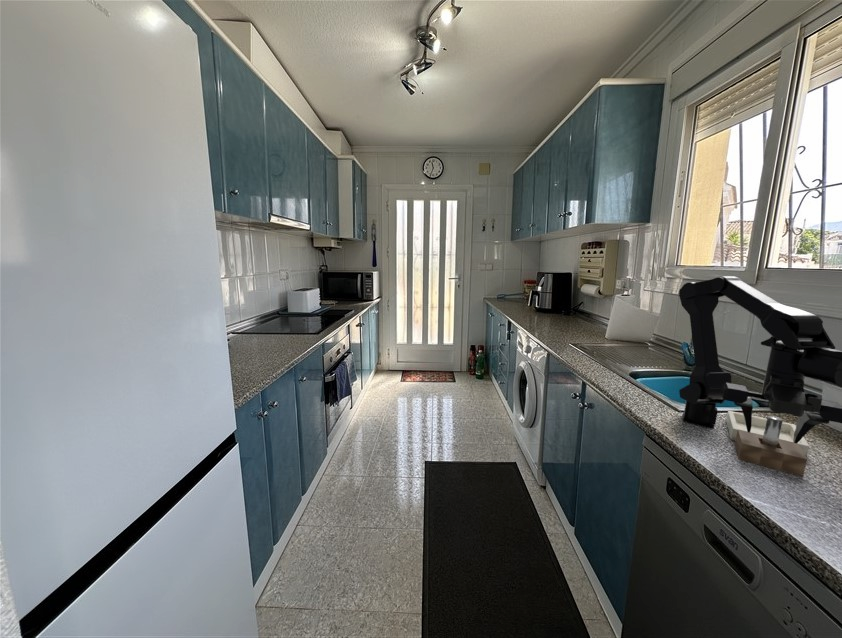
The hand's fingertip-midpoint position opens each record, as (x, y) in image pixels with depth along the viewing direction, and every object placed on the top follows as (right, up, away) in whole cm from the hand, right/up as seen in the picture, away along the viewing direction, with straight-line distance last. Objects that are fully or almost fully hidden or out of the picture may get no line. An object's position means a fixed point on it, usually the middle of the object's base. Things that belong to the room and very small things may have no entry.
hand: (771, 436), depth 77 cm
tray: (+9, -4, +11) cm, 14 cm away
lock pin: (0, -5, +1) cm, 6 cm away
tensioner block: (0, -5, +1) cm, 6 cm away
